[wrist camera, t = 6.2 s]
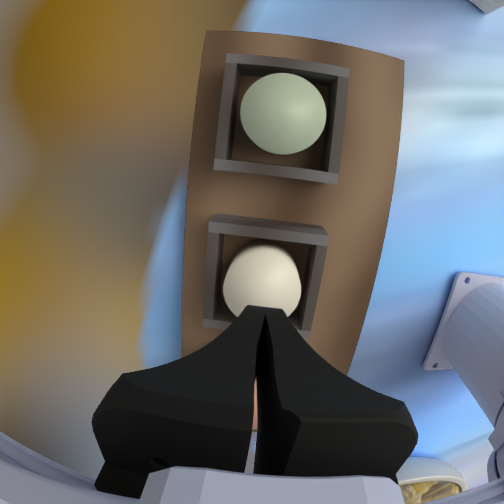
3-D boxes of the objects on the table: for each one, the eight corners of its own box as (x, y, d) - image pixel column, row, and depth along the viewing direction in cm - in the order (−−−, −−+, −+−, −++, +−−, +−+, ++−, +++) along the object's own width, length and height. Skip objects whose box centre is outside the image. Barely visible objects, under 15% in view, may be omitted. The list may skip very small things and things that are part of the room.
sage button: (320, 91, 14) (329, 79, 11) (313, 159, 15) (321, 159, 12) (248, 82, 14) (245, 69, 12) (241, 150, 15) (235, 149, 13)
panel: (396, 65, 14) (420, 49, 11) (323, 421, 22) (328, 452, 19) (210, 37, 15) (197, 14, 11) (187, 407, 22) (177, 438, 19)
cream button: (301, 244, 16) (307, 259, 14) (291, 305, 17) (294, 328, 15) (232, 235, 16) (226, 249, 14) (227, 298, 17) (220, 320, 15)
